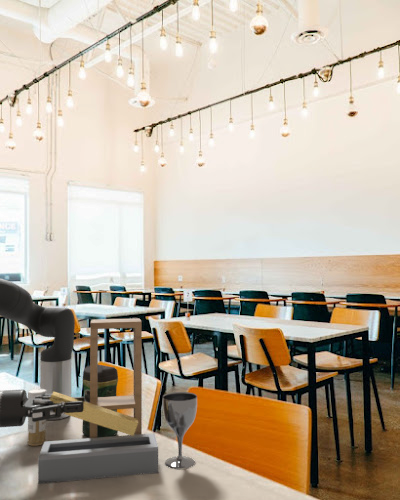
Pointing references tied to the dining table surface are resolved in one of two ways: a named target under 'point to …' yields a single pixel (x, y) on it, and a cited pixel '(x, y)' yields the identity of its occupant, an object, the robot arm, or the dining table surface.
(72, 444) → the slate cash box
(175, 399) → the wine glass
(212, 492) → the dining table surface
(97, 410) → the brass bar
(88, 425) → the coffee jar
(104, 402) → the walnut stand
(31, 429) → the sprinkles bottle
